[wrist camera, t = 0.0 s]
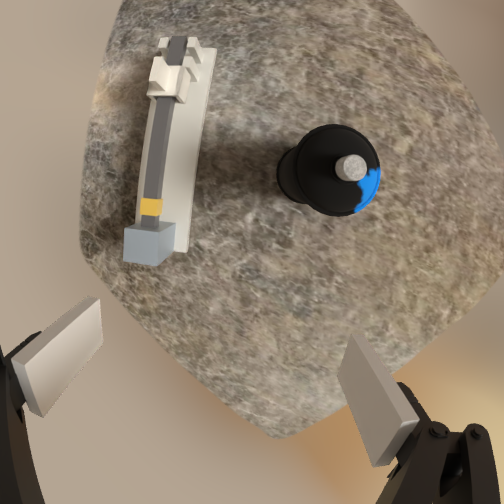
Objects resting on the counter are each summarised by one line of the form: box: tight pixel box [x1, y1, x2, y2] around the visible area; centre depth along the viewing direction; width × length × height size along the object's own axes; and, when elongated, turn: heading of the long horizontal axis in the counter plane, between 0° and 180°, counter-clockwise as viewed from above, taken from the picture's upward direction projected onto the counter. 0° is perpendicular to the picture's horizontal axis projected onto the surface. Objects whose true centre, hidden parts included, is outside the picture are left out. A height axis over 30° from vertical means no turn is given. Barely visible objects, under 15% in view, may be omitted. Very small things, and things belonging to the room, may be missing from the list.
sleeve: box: [147, 57, 191, 104], centre depth 29 cm, size 4×4×8 cm
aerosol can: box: [276, 124, 381, 217], centre depth 29 cm, size 8×8×20 cm
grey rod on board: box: [123, 36, 217, 266], centre depth 34 cm, size 30×8×9 cm, turn 172°
